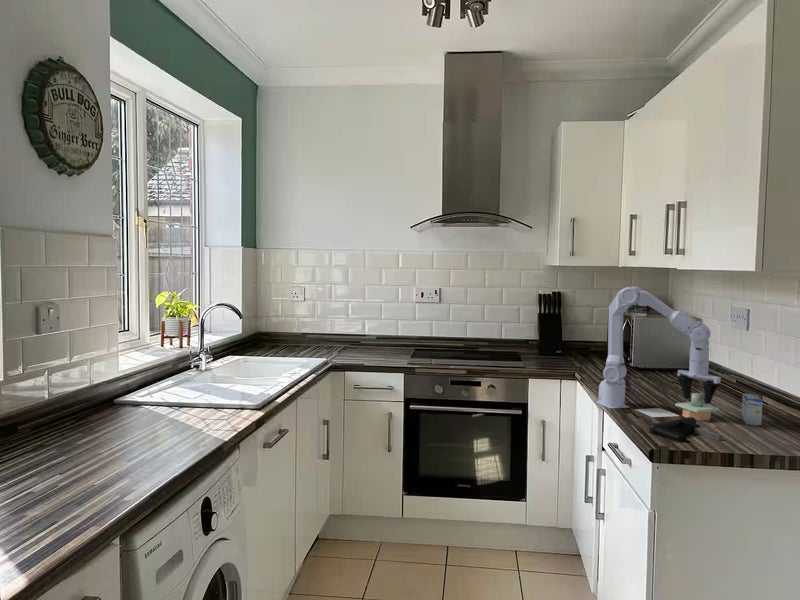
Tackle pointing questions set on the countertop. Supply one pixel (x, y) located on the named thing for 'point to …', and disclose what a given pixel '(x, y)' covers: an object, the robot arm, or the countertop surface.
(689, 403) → the lid
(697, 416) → the bowl
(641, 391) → the countertop surface
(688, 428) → the black dustpan
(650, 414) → the mat
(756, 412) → the medicine box
